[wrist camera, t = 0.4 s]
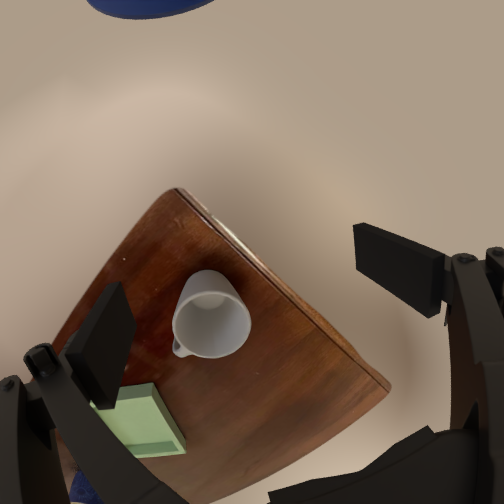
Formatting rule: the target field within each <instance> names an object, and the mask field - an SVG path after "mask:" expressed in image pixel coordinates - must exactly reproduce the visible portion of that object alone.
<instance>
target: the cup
mask: <svg viewBox="0 0 504 504" xmlns="http://www.w3.org/2000/svg"><path fill="white" fill-rule="evenodd" d="M172 325H173V332H174V335H175V338H174V341H173V352H174V354H176V355H177V356H179V357H185V356H187V355H191V354H194V355H196V356H199V357H204V358H218V357H223V356H226V355H229V354H231V353H233V352H235V351H236V350H237V349H238V348H240V347H241V346H242V345H243V343H244V342H245V341H246V339H247V338H248V335H249V333H250V330H251V318H250V313H249V311H248V310H247V308H246V306H245V304H244V303H243V301H242V300H241V298H240V296H239V295H238V293H237V292H236V290H235V289H234V288H233V286H232V285H231V284H230V282H229V281H228V280H227V279H226V278H225V277H224V276H223V275H222V274H221V273H219V272H217V271H213V270H202V271H199V272H197V273H195V274H193V275H192V276H191V277H190V278H189V279H188V280H187V282H186V284H185V286H184V288H183V291H182V293H181V295H180V298H179V301H178V304H177V307H176V310H175V314H174V317H173V321H172Z"/></svg>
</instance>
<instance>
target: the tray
mask: <svg viewBox="0 0 504 504" xmlns="http://www.w3.org/2000/svg"><path fill="white" fill-rule="evenodd" d="M90 405H91V406H92V408H93V409H94V410H95V412H96V413H97V414H98V415H99V417H100V418H101V419H102V420H103V421H104V423H105V424H106V425H107V426H108V427H109V429H110V430H111V431H112V432H113V433H114V434H115V436H116V437H117V438H118V439H119V440H120V441H121V442H122V443H123V444H124V446H125V447H126V448H127V449H128V450H129V451H130V452H131V453H132V454H133V455H134V456H135V457H136V458H142V457H155V456H166V455H175V454H183V453H186V440H185V438H184V437H183V435H182V434H181V432H180V430H179V429H178V427H177V425H176V423H175V422H174V420H173V418H172V417H171V415H170V413H169V411H168V410H167V408H166V406H165V404H164V402H163V400H162V399H161V397H160V395H159V393H158V391H157V389H156V387H155V385H154V383H147V384H141V385H134V386H126V387H120V389H119V393H118V397H117V401H116V405H115V409H110V410H97V408H96V407H95V405H94V404H93V402H92V401H91V402H90Z"/></svg>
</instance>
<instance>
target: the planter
mask: <svg viewBox="0 0 504 504" xmlns="http://www.w3.org/2000/svg"><path fill="white" fill-rule="evenodd" d="M69 499H70V502H71V504H104V502H103V501H102V500H101V498H100V497H99V496H98V494H97V493H96V491H95V490H94V489H93V487H92V486H91V484H90V483H89V481H88V480H87V478H86V477H85V475H84V474H83V472H82V471H81V470H80V471H78V472H77V473H76V475H75V477H74V479H73V482H72V486H71V489H70V493H69Z"/></svg>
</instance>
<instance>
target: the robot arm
mask: <svg viewBox="0 0 504 504" xmlns="http://www.w3.org/2000/svg"><path fill="white" fill-rule="evenodd" d="M353 232H354V244H355V257H356V269H357V270H358V271H359V272H361V273H362V274H364V275H365V276H367V277H368V278H370V279H371V280H373V281H375V282H376V283H377V284H379V285H380V286H382V287H383V288H385V289H386V290H388V291H389V292H391V293H392V294H394V295H395V296H396V297H398V298H399V299H401V300H402V301H404V302H405V303H407V304H408V305H410V306H411V307H412V308H414V309H415V310H417V311H418V312H420V313H421V314H422V315H424V316H425V317H426V318H431V317H432V316H435V315H436V314H439V313H440V309H441V301H442V300H443V301H444V302H446V303H447V309H446V316H445V322H444V326H446V325H447V324H448V332H449V346H450V362H451V418H450V430H444V431H441V432H436V433H434V432H433V431H432V430H431V429H430V428H429V426H428V425H427V426H425V427H424V428H422V429H420V430H419V431H417V432H415V433H413V434H412V435H410V436H408V437H407V438H405V439H403V440H401V441H399V442H398V443H395V444H394V445H393V446H392V447H391V448H389V449H388V450H387V451H386V452H384V453H383V454H382V455H381V456H379V457H378V458H377V459H376V460H374V461H373V462H372V463H370V464H369V465H368V466H367V467H365V468H364V469H362V470H360V471H358V472H354V473H349V474H343V475H338V476H332V477H326V478H319V479H312V480H309V481H305V482H303V483H299V484H296V485H293V486H289V487H286V488H282V489H278V490H274V491H271V492H268V495H269V498H270V502H269V503H267V504H504V249H503V248H502V247H492V248H488V249H487V251H486V259H485V260H480V261H479V260H478V259H477V258H476V257H475V256H474V255H470V254H467V253H461V254H455V255H453V256H452V257H449V256H447V255H445V254H443V253H441V252H439V251H436V250H434V249H432V248H429V247H427V246H424V245H422V244H419V243H417V242H414V241H412V240H409V239H406V238H404V237H401V236H399V235H396V234H394V233H391V232H388V231H386V230H383V229H380V228H378V227H375V226H372V225H369V224H366V223H360V224H355V225H353ZM136 327H137V324H136V322H135V319H134V317H133V314H132V312H131V309H130V306H129V304H128V301H127V298H126V296H125V293H124V290H123V287H122V284H121V282H120V281H119V282H115V283H110V284H108V285H107V286H106V288H105V289H104V291H103V292H102V294H101V295H100V297H99V298H98V300H97V301H96V303H95V304H94V306H93V308H92V309H91V311H90V312H89V314H88V315H87V317H86V319H85V320H84V322H83V323H82V325H81V327H80V328H79V330H77V331H76V332H75V333H74V334H73V335H71V336H70V338H69V339H68V341H67V343H66V344H65V346H64V348H63V350H62V351H61V353H60V354H59V356H58V357H57V355H56V353H55V351H54V349H53V347H52V345H51V344H49V343H42V344H39V345H37V346H35V347H33V348H31V349H30V350H29V351H28V352H27V353H26V354H25V356H24V359H23V360H24V362H25V364H26V366H27V367H28V369H29V370H30V372H31V374H32V376H33V377H34V379H35V381H33V382H30V383H27V384H23V382H22V381H21V379H20V378H19V377H18V376H17V375H12V376H9V377H7V378H4V379H3V380H1V381H0V504H71V502H70V499H69V495H68V492H67V488H66V484H65V480H64V476H63V472H62V468H61V463H60V459H59V454H58V448H57V443H56V437H55V430H54V429H55V428H57V430H58V431H59V433H60V435H61V437H62V439H63V441H64V443H65V444H66V446H67V448H68V450H69V451H70V453H71V455H72V456H73V458H74V460H75V461H76V463H77V465H78V466H79V468H80V469H81V471H82V472H83V474H84V475H85V477H86V478H87V480H88V481H89V483H90V484H91V486H92V487H93V489H94V490H95V491H96V493H97V494H98V496H99V497H100V498H101V500H102V501H103V502H104V504H189V503H188V502H187V501H186V500H184V499H183V498H182V497H181V496H179V495H178V494H177V493H176V492H175V491H173V490H172V489H171V488H170V487H169V486H167V485H166V484H165V483H164V482H162V481H160V480H159V479H158V478H156V477H155V476H154V475H153V474H152V473H151V472H150V471H149V470H148V469H147V468H146V467H145V466H144V465H143V464H142V463H141V462H140V461H139V460H138V459H137V458H136V457H135V456H134V455H133V454H132V453H131V452H130V451H129V450H128V449H127V448H126V447H125V446H124V444H123V443H122V442H121V441H120V440H119V439H118V438H117V437H116V436H115V434H114V433H113V432H112V431H111V430H110V429H109V427H108V426H107V425H106V424H105V423H104V421H103V420H102V419H101V418H100V417H99V415H98V414H97V413H96V412H95V410H94V409H93V408H92V406H91V405H90V402H91V401H92V402H93V404H94V405H95V407H96V408H97V410H110V409H115V405H116V401H117V397H118V393H119V389H120V385H121V381H122V377H123V373H124V369H125V366H126V362H127V358H128V355H129V351H130V348H131V344H132V341H133V337H134V334H135V331H136Z"/></svg>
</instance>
